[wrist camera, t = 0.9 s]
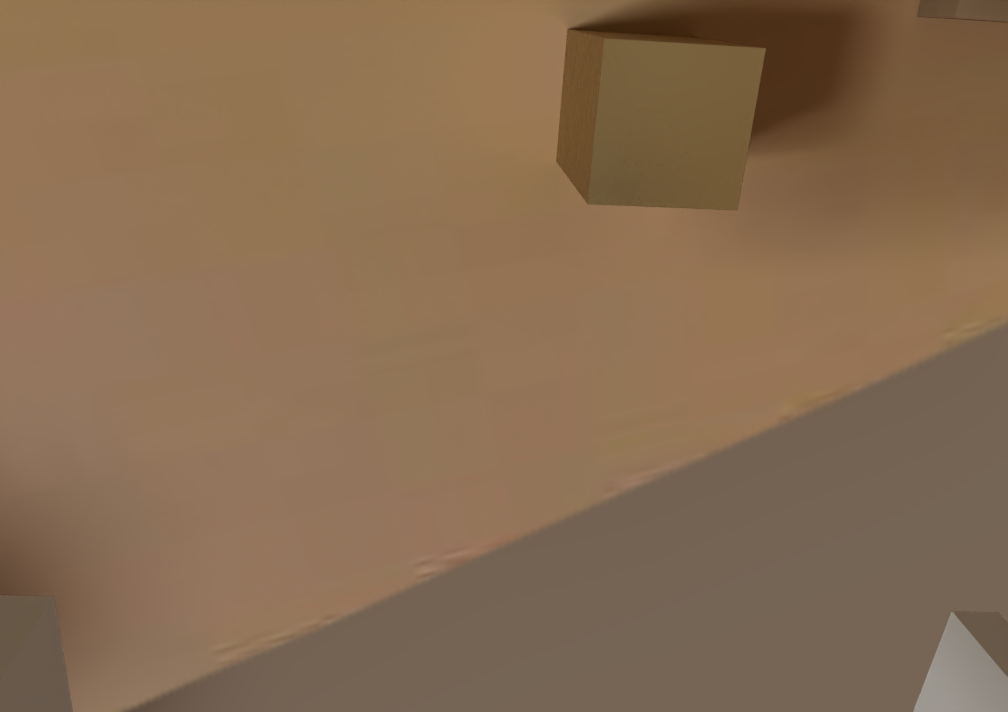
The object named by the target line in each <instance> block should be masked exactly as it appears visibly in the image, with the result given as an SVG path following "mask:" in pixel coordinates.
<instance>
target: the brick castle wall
mask: <svg viewBox="0 0 1008 712" xmlns="http://www.w3.org/2000/svg"><path fill="white" fill-rule="evenodd" d="M918 17H933V18H948V19H963V20H978V21H993V22H1008V0H921V4H920V8H919V12H918Z"/></svg>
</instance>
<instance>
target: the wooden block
mask: <svg viewBox="0 0 1008 712" xmlns="http://www.w3.org/2000/svg"><path fill="white" fill-rule="evenodd" d="M765 51H766V48H761V47H755V46H748V45H742V44H736V43H729V42H723V41H716V40H710V39H704V38H697V37H685V36H669V35H653V34H637V33H621V32H605V31H588V30H572V29H567V38H566V50H565V62H564V74H563V86H562V98H561V110H560V121H559V133H558V145H557V157H556V162H557V163H558V165H559V166H560V167H561V169H562V170H563V171H564V173H565V174H566V175H567V177H568V178H569V180H570V181H571V182H572V184H573V185H574V186H575V188H576V189H577V190H578V192H579V193H580V194H581V196H582V197H583V199H584V200H585V201H586V203H587V204H596V205H620V206H644V207H669V208H693V209H717V210H738V205H739V199H740V193H741V188H742V182H743V176H744V171H745V165H746V159H747V154H748V148H749V142H750V137H751V131H752V125H753V119H754V114H755V108H756V102H757V97H758V91H759V85H760V80H761V74H762V68H763V63H764V57H765Z"/></svg>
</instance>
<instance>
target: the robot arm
mask: <svg viewBox="0 0 1008 712" xmlns="http://www.w3.org/2000/svg"><path fill="white" fill-rule="evenodd" d="M0 712H73V709H72V703H71V697H70V691H69V685H68V679H67V673H66V667H65V660H64V654H63V648H62V642H61V636H60V630H59V624H58V618H57V612H56V606H55V599H54V596H17V595H0ZM913 712H1008V622H1007V621H1006V620H1005V619H1004V618H1003V617H1002V616H1001V615H1000V613H999V612H970V611H952V612H951V615H950V618H949V620H948V623H947V625H946V628H945V631H944V633H943V636H942V639H941V641H940V644H939V646H938V649H937V651H936V654H935V656H934V659H933V662H932V664H931V667H930V669H929V672H928V675H927V677H926V680H925V683H924V685H923V688H922V690H921V693H920V696H919V698H918V701H917V703H916V706H915V708H914V711H913Z"/></svg>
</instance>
